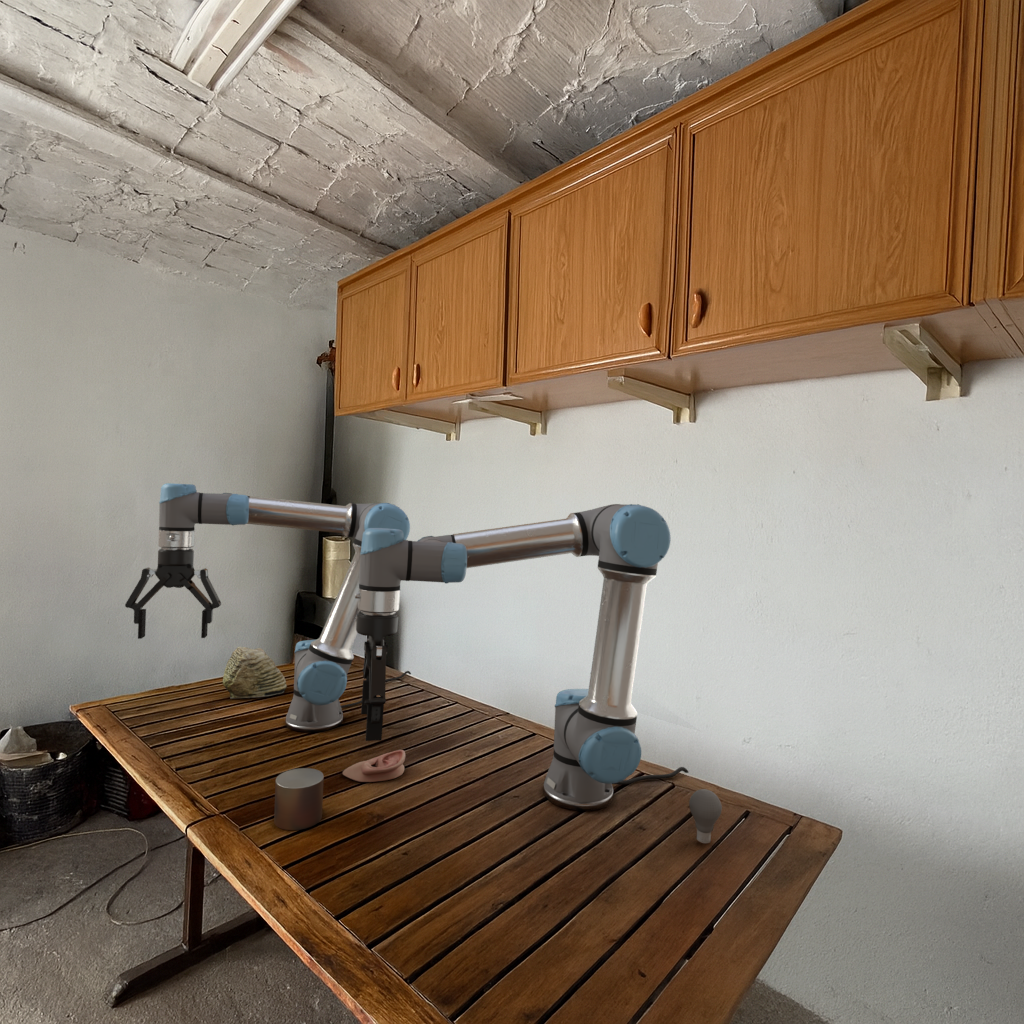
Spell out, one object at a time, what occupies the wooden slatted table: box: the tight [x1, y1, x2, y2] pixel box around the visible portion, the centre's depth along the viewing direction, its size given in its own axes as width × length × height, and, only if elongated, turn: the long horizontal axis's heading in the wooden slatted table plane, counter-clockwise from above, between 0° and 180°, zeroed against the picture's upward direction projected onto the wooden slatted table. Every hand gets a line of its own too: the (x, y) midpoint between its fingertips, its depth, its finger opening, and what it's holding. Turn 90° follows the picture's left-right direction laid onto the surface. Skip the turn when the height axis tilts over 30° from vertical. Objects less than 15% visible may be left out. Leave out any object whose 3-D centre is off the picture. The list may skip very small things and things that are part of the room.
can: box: [273, 767, 325, 831], centre depth 124 cm, size 9×9×8 cm
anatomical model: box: [342, 749, 406, 783], centre depth 146 cm, size 13×4×12 cm
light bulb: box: [688, 788, 723, 844], centre depth 122 cm, size 6×6×10 cm
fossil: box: [222, 646, 288, 699], centre depth 198 cm, size 9×18×15 cm, turn 132°
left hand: (173, 637), depth 151 cm, fingers open, 13 cm apart
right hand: (370, 726), depth 117 cm, fingers open, 13 cm apart
